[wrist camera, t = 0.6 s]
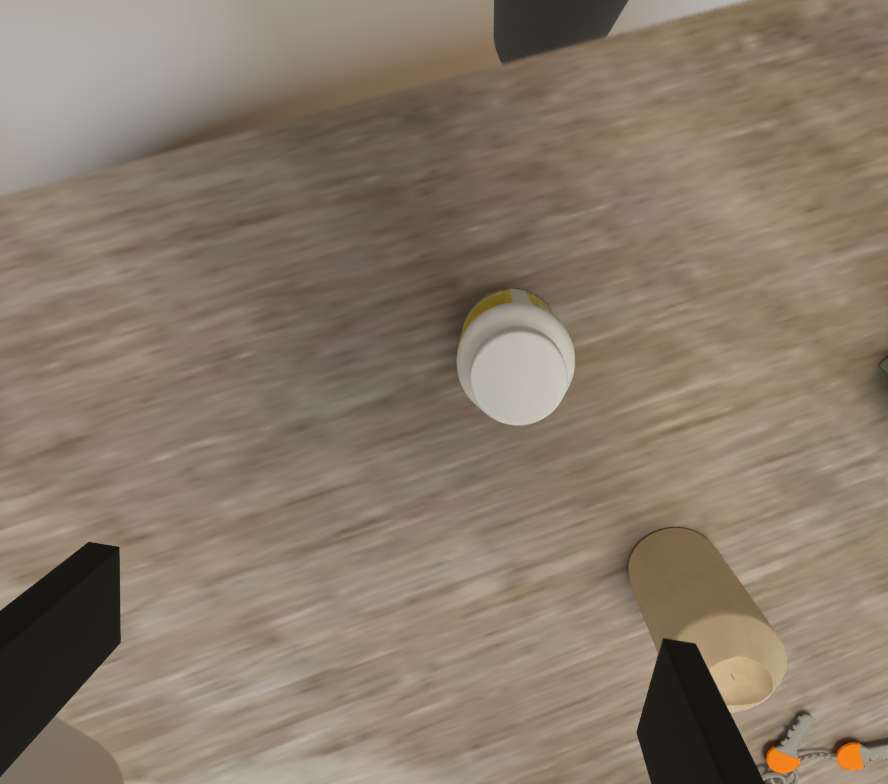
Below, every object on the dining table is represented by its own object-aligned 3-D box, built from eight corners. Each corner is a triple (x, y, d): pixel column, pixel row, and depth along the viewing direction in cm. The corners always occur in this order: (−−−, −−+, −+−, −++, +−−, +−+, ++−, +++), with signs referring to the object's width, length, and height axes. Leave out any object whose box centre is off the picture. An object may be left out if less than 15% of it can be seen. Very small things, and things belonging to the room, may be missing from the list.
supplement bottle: (454, 374, 34) (441, 429, 25) (470, 280, 33) (462, 300, 23) (548, 390, 34) (570, 451, 25) (568, 296, 33) (599, 323, 23)
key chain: (769, 856, 42) (774, 869, 41) (690, 800, 41) (694, 811, 40) (917, 745, 38) (926, 757, 37) (835, 682, 38) (843, 692, 37)
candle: (642, 616, 38) (694, 750, 28) (615, 542, 36) (660, 655, 27) (730, 591, 37) (816, 720, 27) (705, 514, 35) (786, 620, 26)
